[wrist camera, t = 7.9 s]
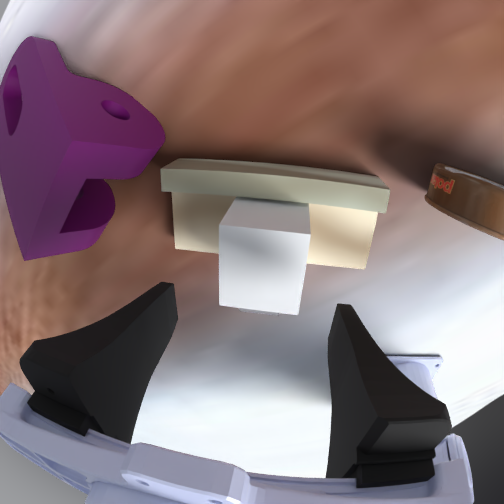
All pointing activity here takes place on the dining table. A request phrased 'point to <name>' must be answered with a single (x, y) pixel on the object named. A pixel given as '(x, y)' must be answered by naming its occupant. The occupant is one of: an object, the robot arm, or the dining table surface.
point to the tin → (468, 199)
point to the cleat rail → (277, 188)
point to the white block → (263, 255)
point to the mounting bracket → (66, 150)
